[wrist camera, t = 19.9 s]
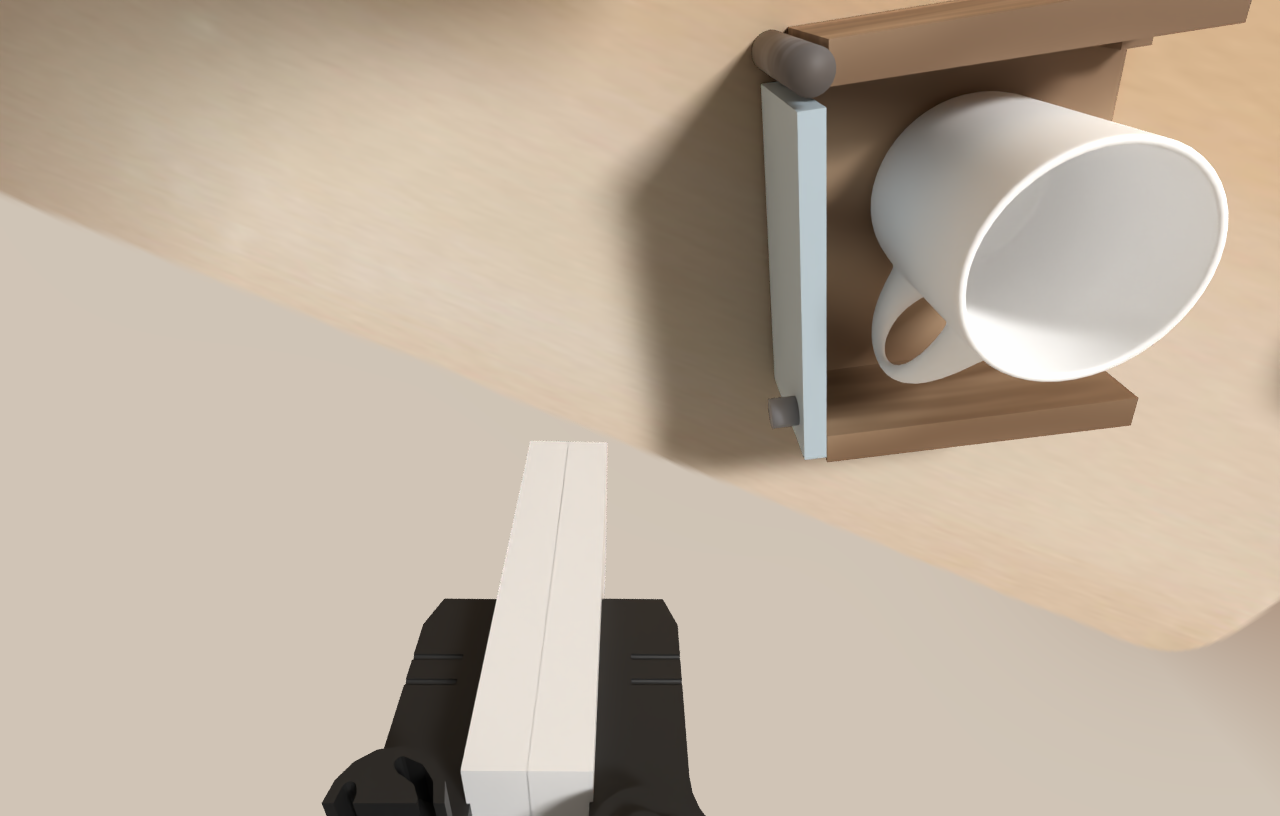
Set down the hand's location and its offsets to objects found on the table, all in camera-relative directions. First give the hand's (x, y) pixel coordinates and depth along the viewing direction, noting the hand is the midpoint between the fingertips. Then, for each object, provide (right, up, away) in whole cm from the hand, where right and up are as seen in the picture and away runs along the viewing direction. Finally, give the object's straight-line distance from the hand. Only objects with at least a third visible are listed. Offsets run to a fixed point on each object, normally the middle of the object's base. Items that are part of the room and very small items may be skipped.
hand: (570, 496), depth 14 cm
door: (+8, +10, +20) cm, 24 cm away
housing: (+16, +11, +20) cm, 28 cm away
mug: (+15, +11, +19) cm, 27 cm away
